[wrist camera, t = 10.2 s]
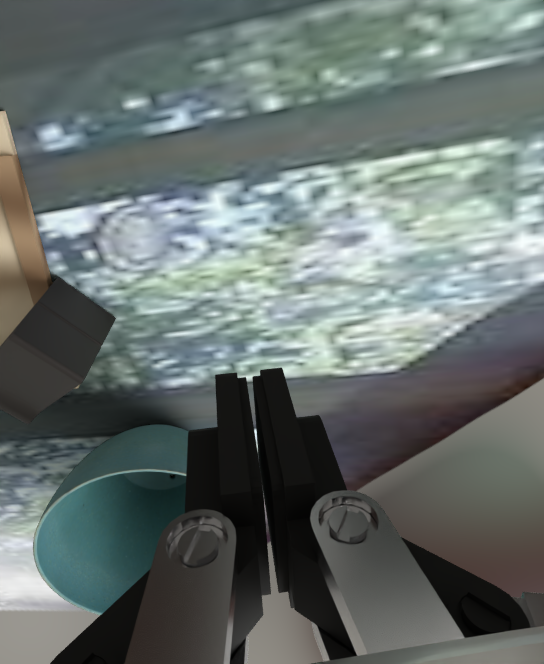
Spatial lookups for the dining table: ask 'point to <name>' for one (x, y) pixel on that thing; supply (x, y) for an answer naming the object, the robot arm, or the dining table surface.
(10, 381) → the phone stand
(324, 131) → the dining table surface
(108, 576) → the plant pot
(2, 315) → the board
